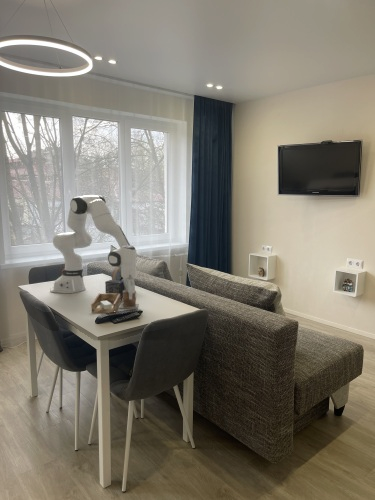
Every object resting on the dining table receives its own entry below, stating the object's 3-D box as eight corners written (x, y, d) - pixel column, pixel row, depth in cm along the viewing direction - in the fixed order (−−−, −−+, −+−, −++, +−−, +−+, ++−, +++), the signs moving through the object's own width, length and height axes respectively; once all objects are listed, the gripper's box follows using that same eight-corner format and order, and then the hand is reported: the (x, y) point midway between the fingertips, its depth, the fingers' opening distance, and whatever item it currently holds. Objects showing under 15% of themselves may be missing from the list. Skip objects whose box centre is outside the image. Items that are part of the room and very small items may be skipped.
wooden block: (123, 307, 211) (123, 291, 210) (122, 305, 214) (122, 290, 213) (135, 306, 214) (135, 291, 212) (134, 304, 216) (134, 289, 215)
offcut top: (100, 305, 208) (100, 301, 208) (106, 304, 210) (106, 300, 210) (104, 309, 202) (104, 305, 201) (111, 308, 204) (111, 304, 203)
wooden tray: (91, 312, 202) (91, 303, 201) (98, 301, 223) (98, 293, 222) (115, 312, 203) (115, 303, 202) (120, 301, 223) (120, 293, 223)
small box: (125, 296, 233) (125, 280, 232) (120, 299, 227) (119, 283, 226) (110, 295, 237) (110, 279, 235) (105, 297, 231) (104, 281, 229)
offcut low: (96, 311, 205) (96, 307, 205) (98, 309, 209) (98, 305, 209) (111, 312, 204) (111, 308, 203) (114, 310, 208) (114, 306, 207)
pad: (119, 308, 210) (119, 308, 210) (121, 304, 218) (121, 303, 218) (137, 308, 210) (137, 308, 210) (138, 304, 218) (138, 303, 218)
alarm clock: (118, 293, 240) (118, 267, 238) (108, 291, 246) (108, 265, 244) (134, 289, 252) (134, 264, 249) (124, 287, 258) (124, 262, 255)
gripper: (137, 277, 202) (137, 301, 204) (131, 269, 221) (132, 292, 223) (126, 277, 200) (126, 302, 202) (121, 270, 219) (121, 292, 222)
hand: (129, 296), depth 213 cm, fingers open, 8 cm apart
